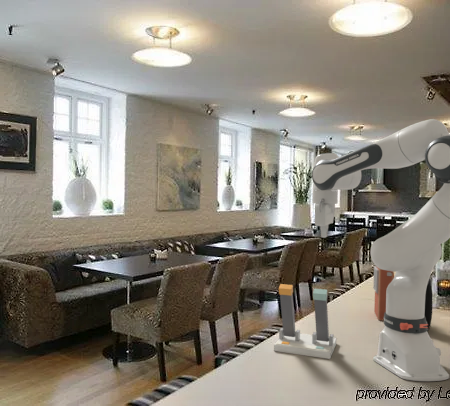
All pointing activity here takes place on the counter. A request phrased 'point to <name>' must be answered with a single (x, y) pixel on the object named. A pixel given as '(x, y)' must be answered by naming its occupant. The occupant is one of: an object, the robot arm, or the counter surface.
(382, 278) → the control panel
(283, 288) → the lever orange
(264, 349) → the counter surface
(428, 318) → the portable speaker
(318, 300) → the lever teal
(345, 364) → the counter surface
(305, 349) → the console
